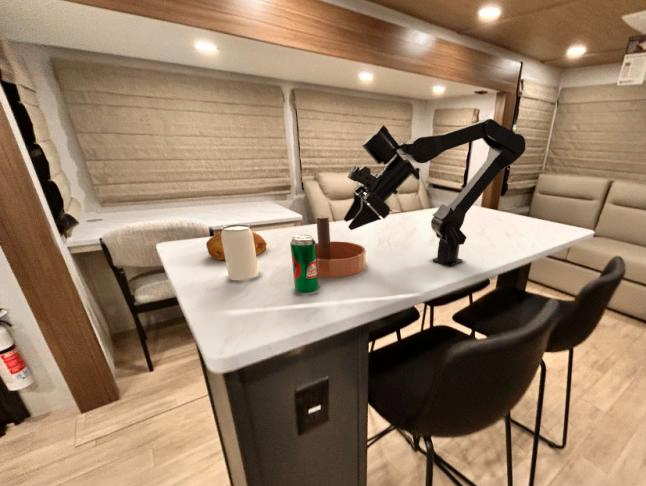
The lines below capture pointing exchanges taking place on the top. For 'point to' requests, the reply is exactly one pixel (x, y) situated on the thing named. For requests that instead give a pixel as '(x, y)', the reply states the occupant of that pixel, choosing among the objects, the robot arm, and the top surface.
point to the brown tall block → (323, 237)
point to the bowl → (342, 260)
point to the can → (239, 252)
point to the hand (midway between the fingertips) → (347, 224)
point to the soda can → (304, 263)
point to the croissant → (217, 248)
